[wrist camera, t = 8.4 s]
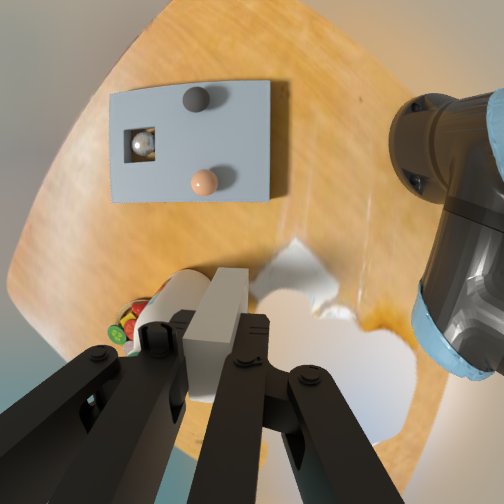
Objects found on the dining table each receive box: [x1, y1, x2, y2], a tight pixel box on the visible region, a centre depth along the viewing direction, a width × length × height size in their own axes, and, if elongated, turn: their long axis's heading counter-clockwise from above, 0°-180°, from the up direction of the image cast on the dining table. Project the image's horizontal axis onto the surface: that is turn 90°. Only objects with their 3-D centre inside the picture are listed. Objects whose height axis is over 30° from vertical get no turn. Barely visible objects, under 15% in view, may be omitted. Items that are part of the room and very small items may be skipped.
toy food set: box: [108, 300, 150, 356], centre depth 47 cm, size 13×13×3 cm
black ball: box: [182, 87, 210, 113], centre depth 34 cm, size 3×3×3 cm
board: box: [109, 80, 271, 203], centre depth 38 cm, size 21×15×2 cm
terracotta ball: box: [191, 169, 218, 196], centre depth 36 cm, size 3×3×3 cm
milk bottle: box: [127, 269, 211, 357], centre depth 36 cm, size 8×8×20 cm
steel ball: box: [132, 132, 155, 156], centre depth 38 cm, size 3×3×3 cm
